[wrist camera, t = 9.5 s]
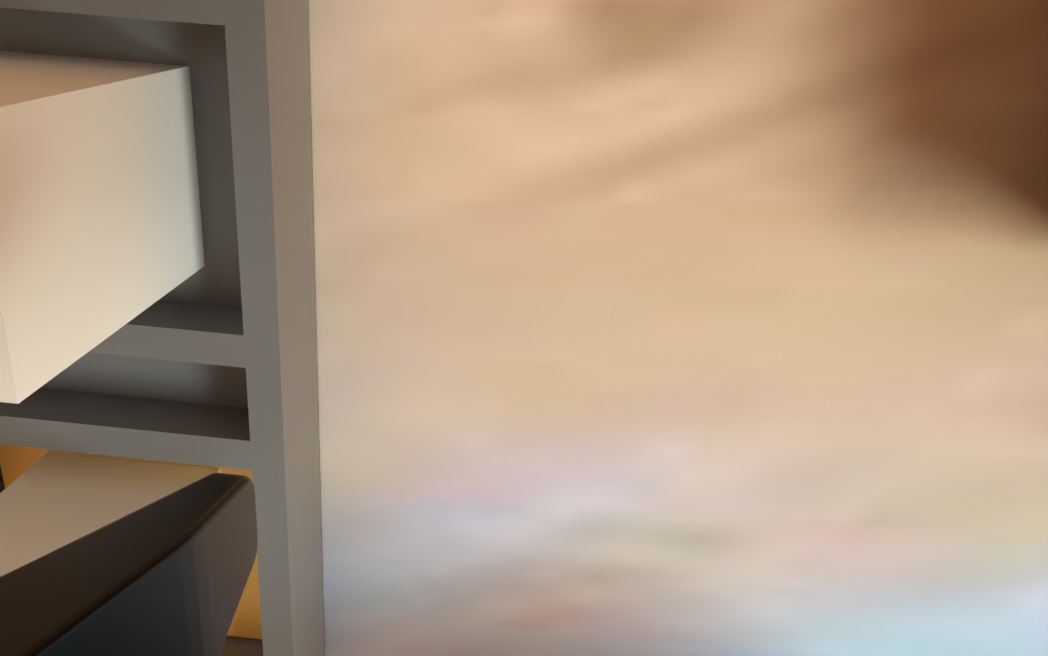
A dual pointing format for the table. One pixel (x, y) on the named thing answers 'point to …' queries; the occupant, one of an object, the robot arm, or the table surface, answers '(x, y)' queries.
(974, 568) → the table surface
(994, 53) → the table surface
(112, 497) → the plug
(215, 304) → the pdu strip
